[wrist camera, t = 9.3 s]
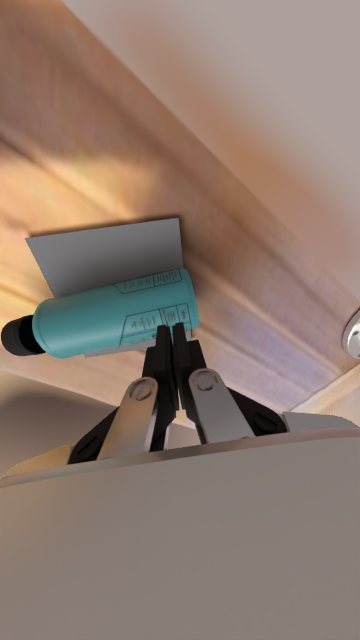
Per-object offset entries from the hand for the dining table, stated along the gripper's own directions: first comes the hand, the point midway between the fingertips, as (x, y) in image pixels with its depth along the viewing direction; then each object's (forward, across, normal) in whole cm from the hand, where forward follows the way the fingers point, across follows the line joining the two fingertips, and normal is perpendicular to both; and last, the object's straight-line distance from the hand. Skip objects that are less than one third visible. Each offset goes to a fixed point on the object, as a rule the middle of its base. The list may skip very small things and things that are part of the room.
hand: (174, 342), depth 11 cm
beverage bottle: (+7, -4, 0) cm, 8 cm away
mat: (+10, +6, 0) cm, 12 cm away
